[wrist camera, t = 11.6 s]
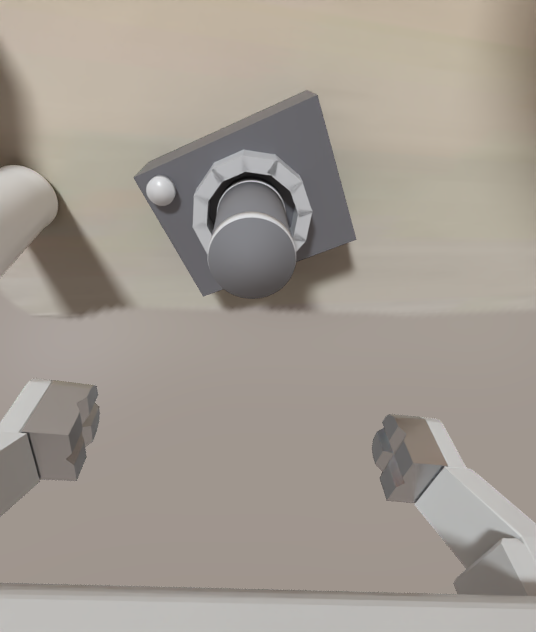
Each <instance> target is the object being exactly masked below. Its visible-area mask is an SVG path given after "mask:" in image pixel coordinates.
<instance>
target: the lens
mask: <svg viewBox="0 0 536 632" xmlns="http://www.w3.org/2000/svg"><path fill="white" fill-rule="evenodd" d="M295 265H296V250H295V245H294V242H293V238H292V236H291V233H290V229H289V225H288V220H287V216H286V210H285V205H284V202H283V199H282V197H281V195H280V193H279V191H278V190H277V189H276V187H275V186H274V185H273V184H271V183H270V182H269V181H267V180H265V179H263V178H260V177H254V176H247V177H242V178H239V179H237V180H235V181H233V182H232V183H230V184H229V185H228V186H227V187H226V189H225V190H224V192H223V193H222V195H221V198H220V200H219V203H218V208H217V215H216V220H215V225H214V229H213V234H212V237H211V240H210V244H209V248H208V266H209V269H210V272H211V274H212V276H213V278H214V279H215V281H216V282H217V283H218V284H219V285H220V286H221V287H222V288H223V289H224V290H226V291H227V292H229V293H231V294H233V295H235V296H238V297H242V298H249V299H255V298H263V297H266V296H269V295H271V294H274V293H275V292H277V291H279V290H280V289H281V288H282V287H283V286H285V285H286V283H287V282H288V281H289V279H290V278H291V276H292V274H293V272H294V268H295Z"/></svg>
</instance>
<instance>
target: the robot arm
mask: <svg viewBox="0 0 536 632" xmlns="http://www.w3.org/2000/svg"><path fill="white" fill-rule="evenodd" d="M97 396H98V392H97V386H95V385H89V384H80V383H72V382H64V381H56V380H46V379H37V378H33V379H32V380H30V381H29V382H28V383H27V384H26V386H25V387H24V389H23V390H22V391H21V393H20V394H19V396H18V398H17V399H16V400H15V402H14V403H13V405H12V406H11V408H10V409H9V410H8V412H7V413H6V415H5V416H4V418H3V419H2V421H1V422H0V517H1V516H2V515H3V514H4V513H5V512H6V511H7V510H9V509H10V508H11V507H12V506H13V505H14V504H15V503H16V502H17V501H19V500H20V499H21V498H22V497H23V496H24V495H25V494H26V493H28V492H29V491H30V490H31V489H32V488H33V487H34V486H35V485H37V484H38V483H39V482H40V480H41V479H42V480H67V481H77V479H78V476H79V474H80V471H81V469H82V467H83V464H84V462H85V459H86V451H85V450H86V449H85V447H86V446H88V445H89V444H90V443H92V442H93V440H94V437H95V434H96V432H97V428H98V423H99V415H100V412H99V406H98V405H97V404H96V403H95V401H96V398H97ZM382 423H383V426H384V428H383V429H381V430H379V431H378V432H377V433H376V435H375V437H374V439H373V445H372V453H373V458H374V461H375V464H376V465H377V466H378V467H379V468H380V469H381V471H382V474H381V476H380V481H381V484H382V487H383V490H384V493H385V496H386V499H387V501H397V502H407V503H415V504H414V505H415V506H416V507H417V508H418V510H419V511H420V512H421V514H422V515H423V516H424V517H425V518H426V520H427V521H428V522H429V523H430V524H431V526H432V527H433V528H434V530H435V531H436V532H437V533H438V534H439V536H440V537H441V538H442V539H443V541H444V542H445V543H446V544H447V546H448V547H449V548H450V549H451V550H452V552H453V553H454V554H455V555H456V557H457V558H458V559H459V560H460V562H461V563H462V564H463V565H464V567H465V568H466V570H465V571H464V572H463V573H462V574H460V576H458V577H457V578H456V579H455V581H454V586H455V589H456V591H457V594H427V593H387V592H348V591H307V590H269V589H230V588H229V589H228V588H187V587H150V586H110V585H68V584H29V583H0V632H536V524H535V523H534V522H533V521H532V520H531V519H530V518H529V517H527V516H526V515H525V514H524V513H523V512H521V511H520V510H519V509H518V508H517V507H516V506H514V505H513V504H512V503H511V502H510V501H509V500H507V499H506V498H505V497H504V496H503V495H502V494H500V493H499V492H498V491H497V490H496V489H494V488H493V487H492V486H491V485H490V484H489V483H488V482H486V481H485V480H484V479H483V478H482V477H480V476H479V475H478V474H477V473H476V472H474V470H472V469H470V468H466V466H465V464H464V463H463V461H462V459H461V457H460V455H459V453H458V451H457V450H456V448H455V446H454V444H453V442H452V440H451V438H450V436H449V435H448V433H447V431H446V429H445V427H444V425H443V423H442V422H441V421H440V420H439V419H435V418H425V417H416V416H404V415H393V414H389V415H387V416H386V417H385V419H384V420H383V422H382Z"/></svg>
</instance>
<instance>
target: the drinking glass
mask: <svg viewBox="0 0 536 632" xmlns="http://www.w3.org/2000/svg"><path fill="white" fill-rule="evenodd" d="M57 212H58V199H57V196H56V193H55V191H54V189H53V188H52V186H51V185H50V183H49V182H48V181H47V180H46V179H45V178H44V177H43V176H42V175H40V174H39V173H37V172H36V171H34V170H32V169H30V168H27V167H24V166H20V165H6V166H2V167H0V278H1V277H2V276H3V275H4V274H5V272H6V271H7V270H8V269H9V268H10V267H11V266H12V264H13V263H14V262H15V261H16V260H17V259H18V257H19V256H20V255H21V254H22V253H23V252H24V250H25V249H26V248H27V247H28V246H29V245H30V244H31V242H32V241H33V240H34V239H35V238H36V237H37V236H38V235H39V233H40V232H41V231H42V230H43V229H44V228H45V227H47V226H48V225H49V224H50V223H51V222H52V221H53V220H54V218H55V217H56V215H57Z"/></svg>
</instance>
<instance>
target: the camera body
mask: <svg viewBox="0 0 536 632" xmlns="http://www.w3.org/2000/svg"><path fill="white" fill-rule="evenodd" d="M247 176H254V177H260V178H263V179H265V180H267V181H269V182H270V183H271V184H273V185H274V186H275V187H276V189H277V190H278V191H279V193H280V195H281V197H282V199H283V202H284V205H285V210H286V216H287V220H288V225H289V229H290V233H291V236H292V238H293V242H294V245H295V250H296V262H297V261H300V260H303V259H305V258H308V257H311V256H313V255H316V254H319V253H321V252H324V251H327V250H330V249H332V248H335V247H338V246H340V245H343V244H346V243H348V242H351V241H354V240H356V236H355V233H354V229H353V225H352V222H351V218H350V214H349V211H348V207H347V203H346V199H345V196H344V192H343V188H342V185H341V181H340V177H339V173H338V170H337V166H336V162H335V159H334V155H333V151H332V147H331V144H330V140H329V136H328V133H327V129H326V125H325V121H324V118H323V114H322V110H321V107H320V103H319V99H318V95H317V94H315V93H312V92H310V91H308V90H306V91H304V92H302V93H299V94H297V95H295V96H293V97H291V98H288V99H286V100H284V101H282V102H280V103H277V104H275V105H273V106H271V107H269V108H266V109H264V110H262V111H260V112H258V113H255V114H253V115H251V116H249V117H247V118H244V119H242V120H240V121H238V122H236V123H233V124H231V125H229V126H227V127H225V128H222V129H220V130H218V131H216V132H214V133H211V134H209V135H207V136H205V137H203V138H200V139H198V140H196V141H194V142H192V143H189V144H187V145H185V146H183V147H181V148H178V149H176V150H174V151H172V152H170V153H167V154H165V155H163V156H161V157H159V158H156V159H154V160H152V161H150V162H148V163H147V164H146V165H145V166H144V167H143V168H142V169H141V170H140V171H139V172H138V173H137V174H136V175H135V176H134V179H135V181H136V183H137V184H138V186H139V188H140V190H141V191H142V193H143V195H144V196H145V198H146V200H147V201H148V203H149V205H150V207H151V208H152V210H153V212H154V213H155V215H156V217H157V219H158V220H159V222H160V224H161V225H162V227H163V229H164V230H165V232H166V234H167V236H168V237H169V239H170V241H171V242H172V244H173V246H174V247H175V249H176V251H177V253H178V254H179V256H180V258H181V259H182V261H183V263H184V265H185V266H186V268H187V270H188V271H189V273H190V275H191V276H192V278H193V280H194V282H195V283H196V285H197V287H198V288H199V290H200V292H201V293H202V295H203V296H206V295H209V294H211V293H214V292H217V291H219V290H222V289H223V288H222V287H221V286H220V285H219V284H218V283H217V282H216V281H215V279H214V278H213V276H212V274H211V272H210V269H209V266H208V248H209V244H210V240H211V237H212V234H213V229H214V225H215V220H216V215H217V208H218V203H219V200H220V198H221V195H222V193H223V192H224V190H225V189H226V187H227V186H228V185H229V184H230V183H232V182H233V181H235V180H237V179H239V178H242V177H247Z"/></svg>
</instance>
